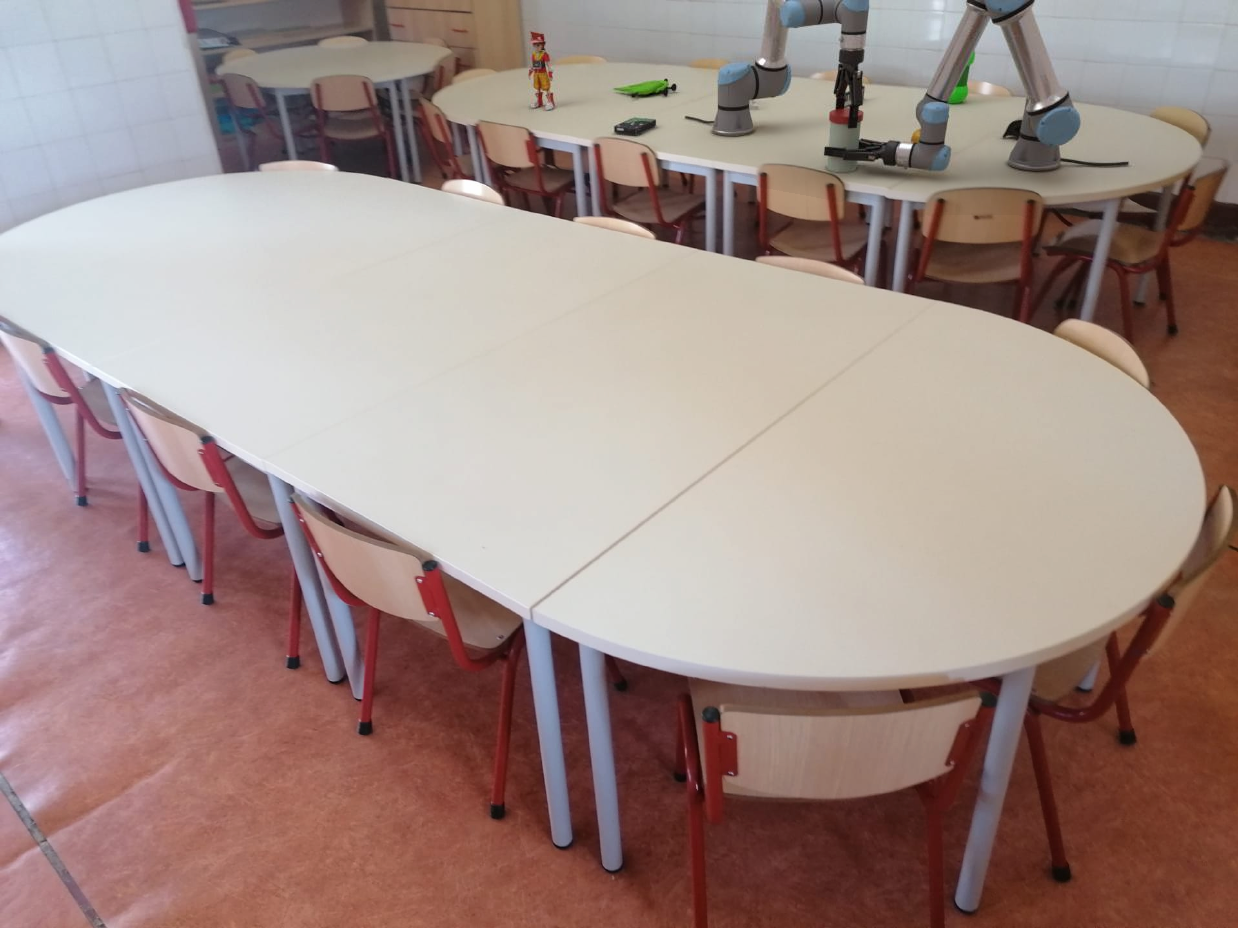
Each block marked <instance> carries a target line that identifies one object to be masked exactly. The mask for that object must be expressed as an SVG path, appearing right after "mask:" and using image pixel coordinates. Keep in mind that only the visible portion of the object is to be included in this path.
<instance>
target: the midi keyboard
mask: <svg viewBox="0 0 1238 928" xmlns="http://www.w3.org/2000/svg"><path fill="white" fill-rule="evenodd" d="M865 89H866V86H865V85H862V90H863V100H864V99H865ZM845 95H846V97H842V98H845V106H844V108H846V107H847V106H849V105H851V99H850V91H846V92H845Z"/></svg>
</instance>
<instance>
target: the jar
mask: <svg viewBox="0 0 1238 928" xmlns="http://www.w3.org/2000/svg"><path fill="white" fill-rule="evenodd" d="M861 125H862V121H861V122H859V123H857V128H850V129H848V124H838V123H833V122H831V121H830V123H829V136H828V137H829V138H828V147H836V148H844V147H845V148H846V150H851V149H858V147H859V140H860V135H861V127H862V126H861ZM826 162H827V163H826V169H827V171H830V172H834V173H851V172H854V171H856V170H857V165H858V161H850V160H843V158H841V157H832V156H827V161H826Z"/></svg>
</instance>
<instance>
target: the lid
mask: <svg viewBox="0 0 1238 928" xmlns="http://www.w3.org/2000/svg"><path fill="white" fill-rule="evenodd" d="M849 109H850V108H844V109H836V110H835V109H832V110H831V111H829V116H828V121H829V122H830V123H831V122H833V123H838V124H848V120H849ZM863 121H864V111H863V110H861V109H859V111H858V122H857V123H859V122H861V123H862V122H863Z"/></svg>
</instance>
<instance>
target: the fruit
mask: <svg viewBox="0 0 1238 928" xmlns="http://www.w3.org/2000/svg"><path fill="white" fill-rule="evenodd" d="M920 130H921V128H918V129H916V130H915V131H914V132H913V133H912V135H911V137H910V142H914V143H919V139H920Z"/></svg>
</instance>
